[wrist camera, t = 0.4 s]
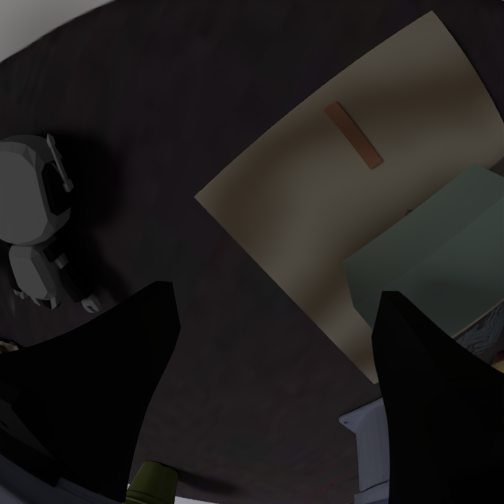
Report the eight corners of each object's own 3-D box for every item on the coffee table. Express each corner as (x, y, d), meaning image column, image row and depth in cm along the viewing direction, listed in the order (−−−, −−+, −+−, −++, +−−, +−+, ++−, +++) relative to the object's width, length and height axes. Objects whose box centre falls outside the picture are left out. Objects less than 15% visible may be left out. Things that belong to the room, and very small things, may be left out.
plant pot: (123, 452, 40) (106, 493, 32) (166, 456, 37) (150, 504, 30) (155, 477, 43) (142, 514, 36) (198, 481, 41) (187, 523, 33)
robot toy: (123, 294, 25) (84, 115, 17) (99, 330, 21) (40, 128, 14) (31, 281, 27) (-10, 143, 19) (7, 308, 23) (-46, 159, 15)
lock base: (538, 253, 17) (559, 273, 14) (371, 371, 24) (377, 400, 21) (422, 16, 12) (444, 2, 9) (201, 190, 19) (183, 206, 16)
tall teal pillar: (506, 231, 14) (549, 269, 9) (386, 319, 17) (404, 375, 13) (476, 160, 12) (528, 184, 8) (342, 261, 16) (355, 315, 12)
